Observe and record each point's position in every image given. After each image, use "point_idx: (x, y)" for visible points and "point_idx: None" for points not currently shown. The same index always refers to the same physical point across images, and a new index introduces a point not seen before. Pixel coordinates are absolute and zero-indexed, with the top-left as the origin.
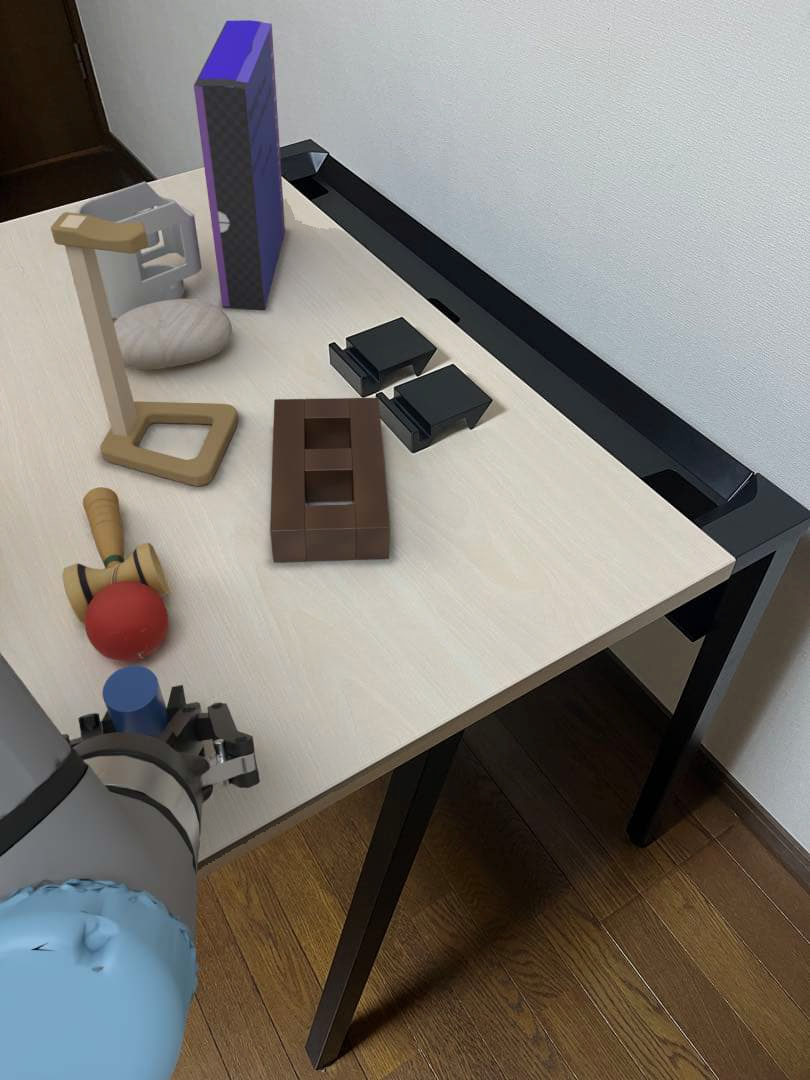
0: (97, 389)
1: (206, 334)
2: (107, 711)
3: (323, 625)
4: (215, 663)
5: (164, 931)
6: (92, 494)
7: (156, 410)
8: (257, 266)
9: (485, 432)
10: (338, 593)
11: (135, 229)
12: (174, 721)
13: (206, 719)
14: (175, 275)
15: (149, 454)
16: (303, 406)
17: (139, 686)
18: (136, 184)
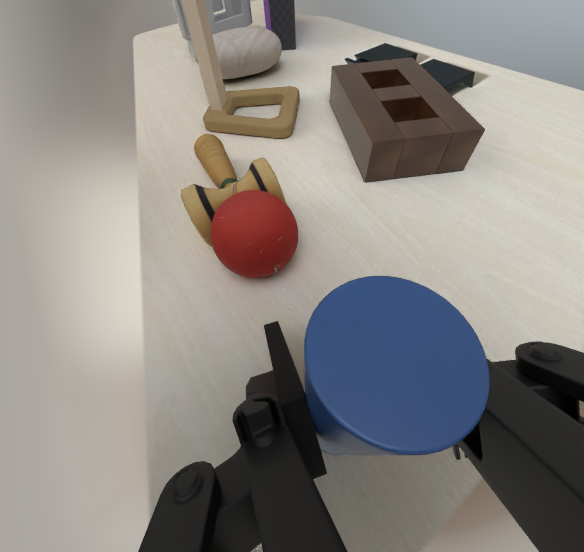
0: (195, 94)
1: (266, 43)
2: (273, 362)
3: (435, 227)
4: (346, 272)
5: None
6: (201, 139)
7: (240, 94)
8: (291, 5)
9: (482, 88)
10: (434, 200)
11: None
12: (536, 436)
13: (539, 391)
14: (236, 22)
15: (241, 118)
16: (356, 67)
17: (420, 340)
18: None
